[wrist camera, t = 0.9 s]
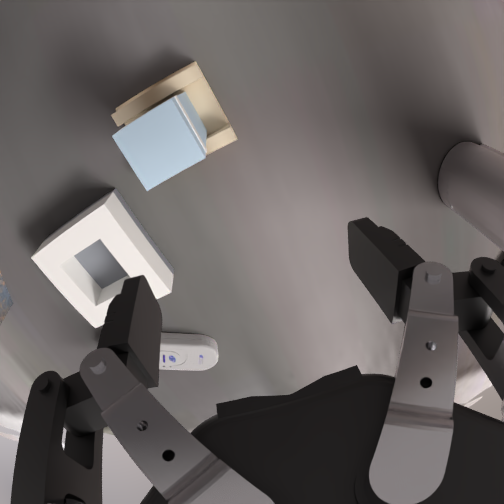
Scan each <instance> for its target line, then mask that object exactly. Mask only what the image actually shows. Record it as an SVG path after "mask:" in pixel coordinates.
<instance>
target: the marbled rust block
mask: <svg viewBox="0 0 504 504" xmlns="http://www.w3.org/2000/svg"><path fill="white" fill-rule="evenodd" d="M12 304H13V302H12V300H11V297H10V295H9V293H8V290H7V288H6V285H5V283H4V280H3V278H2V275H1V272H0V325H1V323H2V321H3V319H4V318H5V316H6V314H7V313H8V311H9V309H10V307H11V306H12Z"/></svg>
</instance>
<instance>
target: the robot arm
mask: <svg viewBox="0 0 504 504" xmlns="http://www.w3.org/2000/svg"><path fill="white" fill-rule="evenodd" d="M438 189H439V193H440V197H441V199H442V201H443V202H444V203H445V204H446V205H447V206H448V207H449V208H451V209H452V210H453V211H455V212H456V213H457V214H459V215H460V216H461V217H463V218H464V219H465V220H466V221H467V222H469V223H470V224H471V225H473V226H474V227H475V228H476V229H478V230H479V231H480V232H481V233H482V234H484V235H485V236H486V237H487V238H488V239H490V240H491V241H492V242H493V243H494V244H496V245H497V246H498V247H499V248H500V249H501V250H502V251H504V153H502V152H500V151H498V150H495V149H493V148H491V147H489V146H487V145H484V144H481V145H477V144H475V143H473V142H468V141H467V142H461V143H459V144H457V145H456V146H454V147H453V148H452V149H451V150H450V151H449V152H448V154H447V155H446V157H445V159H444V160H443V163H442V165H441V168H440V172H439V178H438ZM348 244H349V260H350V264H351V266H352V269H353V270H354V272H355V273H356V274H357V276H358V277H359V279H360V280H361V281H362V283H363V284H364V285H365V287H366V288H367V290H368V291H369V292H370V294H371V295H372V296H373V298H374V299H375V301H376V302H377V303H378V305H379V306H380V308H381V309H382V311H383V312H384V313H385V315H386V316H387V318H388V319H389V321H390V322H391V323H392V324H394V323H397V322H399V321H402V320H403V322H404V323H405V327H404V333H403V338H402V343H401V348H400V353H399V358H398V363H397V367H396V371H395V376H394V377H392V376H388V375H383V374H361V373H360V371H359V369H358V367H357V365H356V366H353V367H350V368H348V369H345V370H342V371H339V372H336V373H333V374H330V375H327V376H324V377H322V378H320V379H318V380H317V381H315V382H313V383H311V384H309V385H308V386H306V387H304V388H302V389H300V390H299V391H297V392H295V393H293V394H290V395H280V396H251V397H247V398H242V399H238V400H233V401H229V402H224V403H219V404H216V406H217V415H215V416H212V417H211V418H209V419H207V420H205V421H204V422H203V423H201V424H200V425H199V426H197V427H196V428H195V429H194V430H193V431H192V432H191V433H190V432H188V431H187V430H186V429H185V428H184V427H183V426H182V425H181V424H180V423H179V422H178V421H177V420H176V419H175V418H174V417H173V416H172V415H171V414H170V413H169V412H168V411H167V410H166V409H165V408H164V407H163V406H162V405H161V404H160V403H159V402H158V400H157V399H156V398H155V397H154V396H153V395H152V394H151V393H150V392H149V391H148V388H152V387H158V382H159V361H160V344H161V330H162V313H161V309H160V306H159V304H158V302H157V300H156V298H155V296H154V294H153V292H152V290H151V287H150V285H149V283H148V281H147V279H146V277H145V276H144V275H140V276H136V277H132V278H128V279H125V280H124V283H123V287H122V290H121V294H117V295H116V296H115V297H114V298H113V300H112V301H111V302H110V304H109V306H108V310H107V313H106V314H107V316H106V317H105V320H104V323H105V324H103V328H102V331H101V335H100V339H99V343H98V347H97V349H96V350H94V351H92V352H90V353H89V354H88V355H87V356H86V357H85V358H84V359H83V361H82V363H81V365H80V371H79V372H77V373H75V374H73V375H71V376H68V377H66V378H64V379H62V378H61V377H60V375H59V374H58V373H57V372H55V371H47V372H44V373H43V374H41V375H40V376H39V377H38V378H37V379H36V380H35V381H34V383H33V385H32V387H31V390H30V394H29V398H28V402H27V406H26V410H25V414H24V419H23V423H22V428H21V433H20V438H19V443H18V449H17V455H16V461H15V468H14V476H13V484H12V494H11V504H102V444H103V428H104V427H107V426H109V428H110V429H111V431H112V432H113V434H114V435H115V437H116V438H117V439H118V441H119V442H120V444H121V445H122V446H123V448H124V449H125V450H126V452H127V453H128V454H129V456H130V457H131V458H132V460H133V461H134V462H135V463H136V465H137V466H138V467H139V468H140V470H141V471H142V472H143V473H144V474H145V476H146V477H147V478H148V479H149V480H150V482H151V483H152V484H153V487H152V488H151V489H150V491H149V492H148V494H147V495H146V496H145V498H144V499H143V500H142V502H141V503H140V504H504V333H503V332H502V331H501V329H500V328H499V327H498V326H497V324H496V323H495V322H494V321H493V319H492V318H491V315H492V312H494V313H495V314H496V315H497V316H498V318H499V319H500V320H501V321H502V323H503V324H504V267H503V266H502V265H501V264H500V263H499V262H497V261H496V260H494V259H491V258H487V257H479V258H476V259H474V260H473V261H472V263H471V266H470V270H469V271H467V272H456V273H452V272H451V271H450V269H449V268H448V267H446V266H445V265H443V264H440V263H437V262H425V261H424V260H423V259H422V258H421V257H420V256H419V255H418V254H417V253H416V252H415V251H414V250H413V249H412V248H411V247H410V246H408V245H406V243H405V242H404V241H403V240H402V239H400V237H399V236H398V235H397V234H395V233H394V232H393V231H392V230H389V229H387V228H385V227H382V226H380V227H378V226H377V225H375V224H374V223H373V222H372V221H371V220H370V219H369V218H367V217H366V218H362V219H358V220H354V221H350V222H349V223H348ZM458 333H459V335H460V336H461V338H462V339H463V340H464V342H465V343H466V345H467V346H468V348H469V349H470V351H471V352H472V354H473V355H474V356H475V358H476V359H477V361H478V362H479V364H480V366H481V367H482V369H483V370H484V372H485V373H486V375H487V376H488V378H489V380H490V381H491V383H492V384H493V386H494V387H495V389H496V391H497V392H498V394H499V396H500V397H501V399H502V401H503V402H502V415H503V417H502V421H500V420H498V419H495V418H492V417H490V416H487V415H485V414H482V413H480V412H477V411H474V410H472V409H469V408H467V407H464V406H462V405H460V404H457V403H455V402H454V395H455V385H456V373H457V358H458ZM63 427H64V428H65V429H66V430H67V432H66V439H65V448H64V450H63V448H62V434H63Z"/></svg>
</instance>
